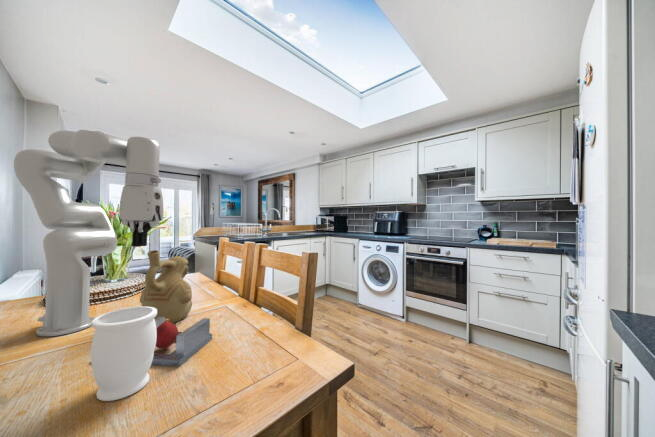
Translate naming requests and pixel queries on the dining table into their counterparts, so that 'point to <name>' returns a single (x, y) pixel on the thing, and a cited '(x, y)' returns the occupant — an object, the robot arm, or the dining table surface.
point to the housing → (186, 344)
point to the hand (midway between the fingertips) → (139, 246)
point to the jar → (123, 351)
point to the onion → (166, 334)
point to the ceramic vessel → (167, 287)
